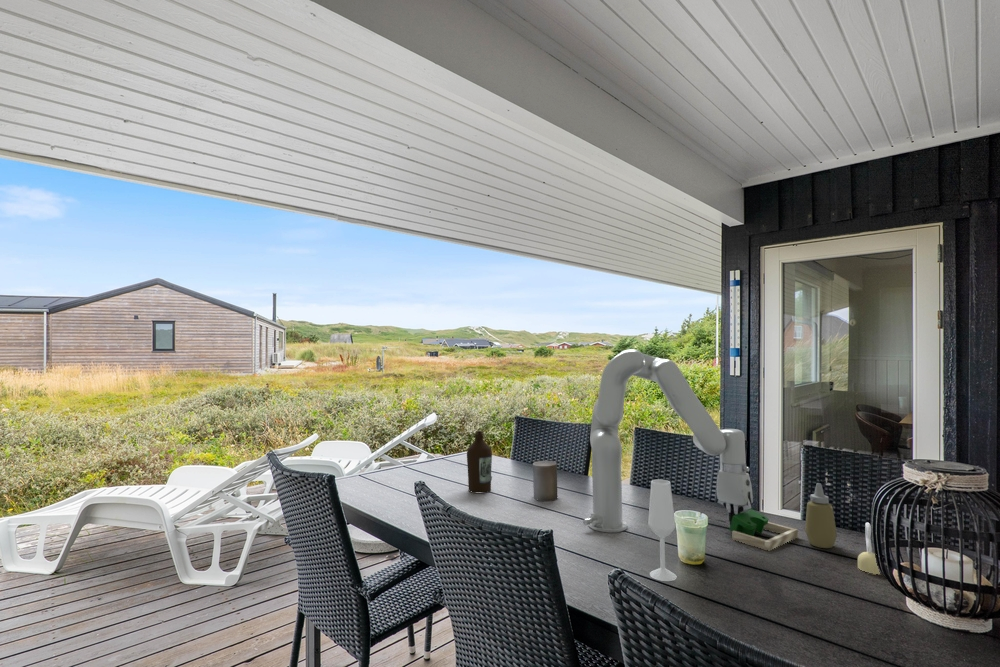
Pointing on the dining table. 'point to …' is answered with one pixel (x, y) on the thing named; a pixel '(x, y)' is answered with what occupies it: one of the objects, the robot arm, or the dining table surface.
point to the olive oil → (479, 464)
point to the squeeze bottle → (820, 520)
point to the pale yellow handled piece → (868, 555)
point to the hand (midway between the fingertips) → (734, 525)
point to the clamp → (748, 522)
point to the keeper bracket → (784, 537)
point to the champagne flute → (661, 522)
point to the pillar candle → (545, 480)
